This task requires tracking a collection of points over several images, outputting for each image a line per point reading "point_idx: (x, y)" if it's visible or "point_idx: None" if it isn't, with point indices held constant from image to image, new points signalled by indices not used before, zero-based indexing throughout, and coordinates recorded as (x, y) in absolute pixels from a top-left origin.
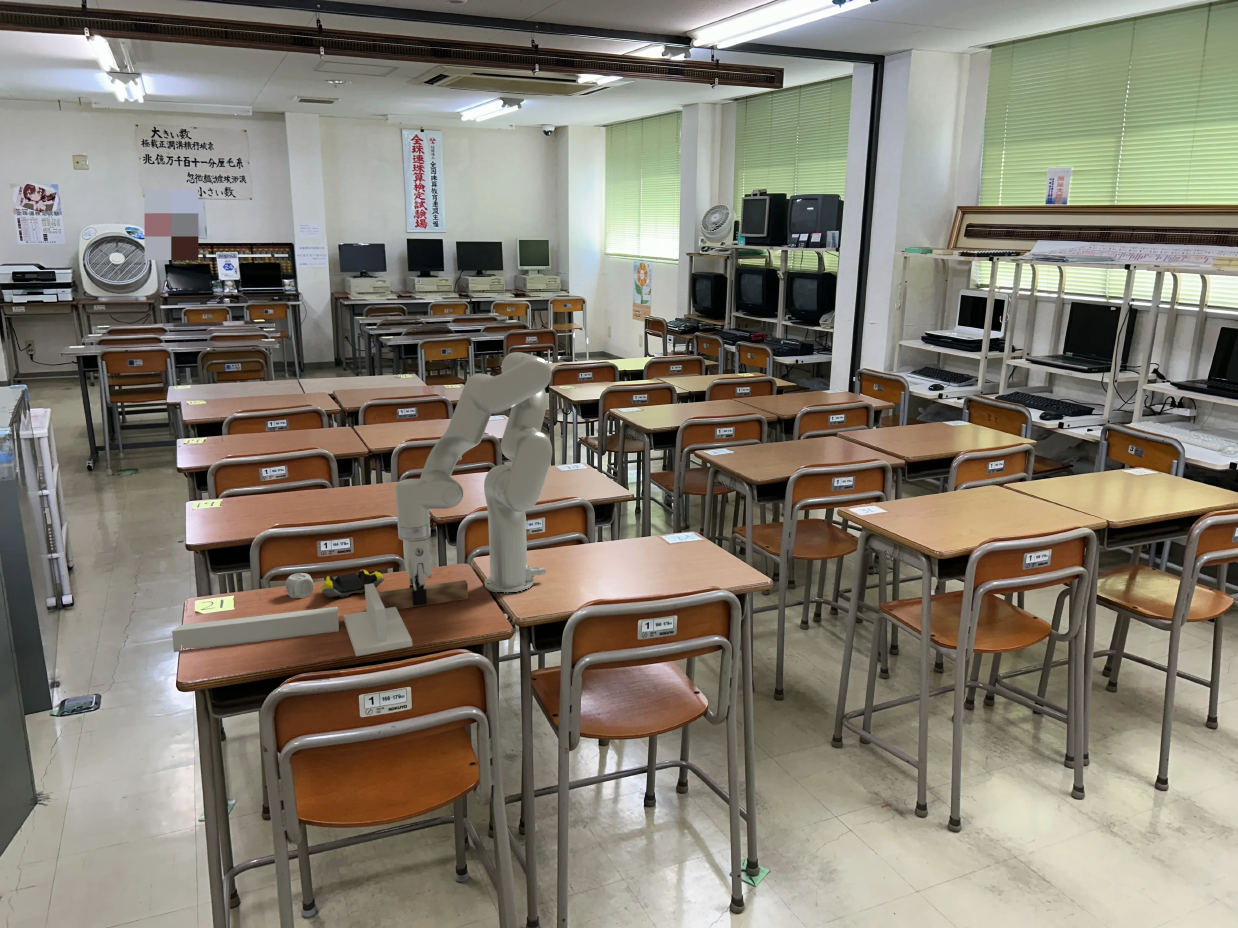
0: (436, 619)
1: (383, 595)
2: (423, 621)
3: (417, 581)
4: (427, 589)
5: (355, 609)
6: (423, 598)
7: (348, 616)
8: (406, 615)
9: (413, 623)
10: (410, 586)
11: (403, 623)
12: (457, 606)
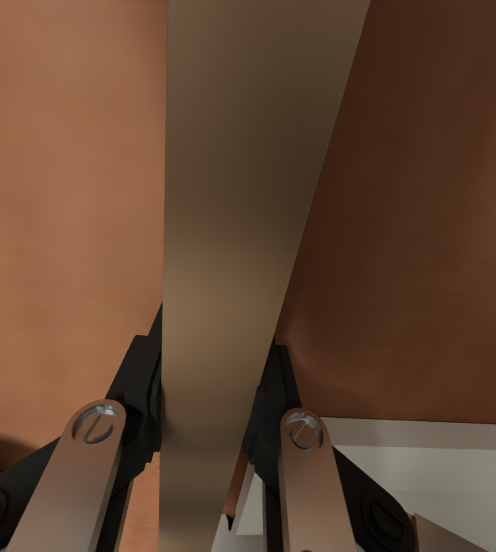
0: (467, 310)
1: (217, 528)
2: (432, 359)
3: (132, 452)
4: (262, 368)
5: (156, 486)
6: (289, 359)
7: (256, 529)
8: (317, 393)
9: (414, 390)
10: (152, 450)
11: (451, 449)
12: (416, 124)
